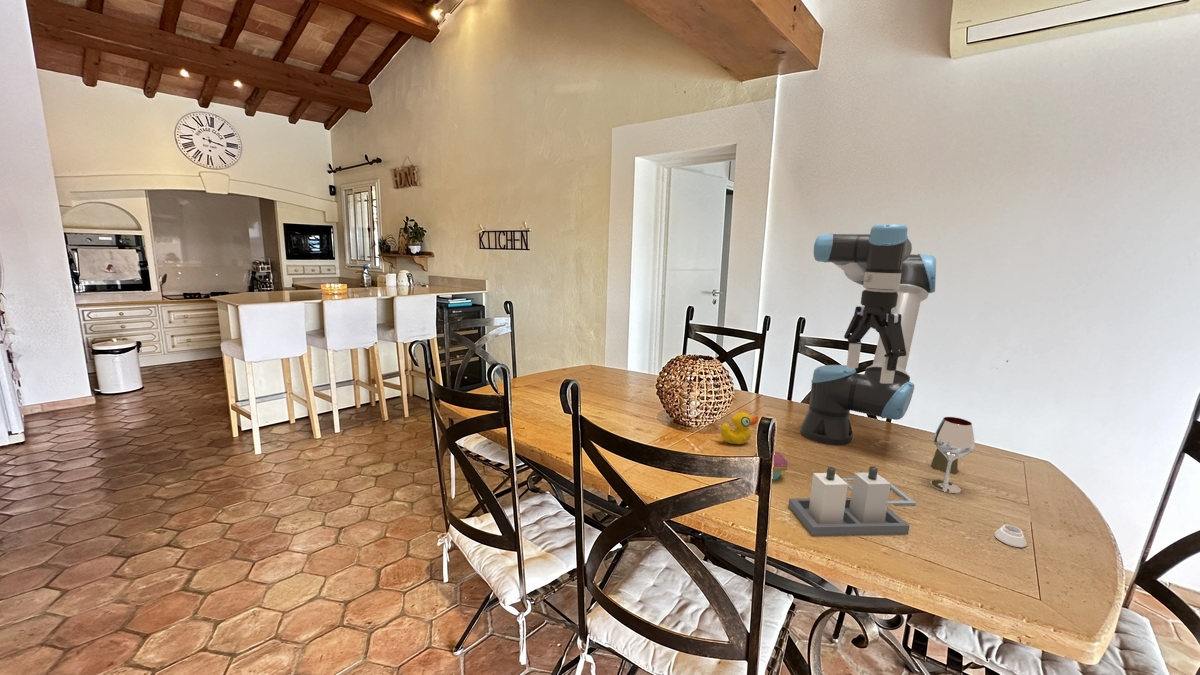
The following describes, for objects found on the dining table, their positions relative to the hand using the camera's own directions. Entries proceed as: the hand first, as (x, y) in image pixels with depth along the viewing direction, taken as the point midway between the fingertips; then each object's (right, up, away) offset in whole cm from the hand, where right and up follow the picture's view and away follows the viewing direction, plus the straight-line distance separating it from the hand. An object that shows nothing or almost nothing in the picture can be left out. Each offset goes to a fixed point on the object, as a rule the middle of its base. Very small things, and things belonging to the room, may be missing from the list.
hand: (868, 375), depth 115 cm
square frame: (+2, -29, 0) cm, 29 cm away
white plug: (-17, -31, -13) cm, 38 cm away
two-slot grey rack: (-13, -32, -13) cm, 36 cm away
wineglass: (+22, -29, +3) cm, 37 cm away
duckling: (-25, -24, +27) cm, 44 cm away
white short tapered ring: (+19, -34, -18) cm, 43 cm away
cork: (+29, -27, +13) cm, 42 cm away
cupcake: (-23, -28, +7) cm, 36 cm away
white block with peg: (-8, -31, -12) cm, 34 cm away
